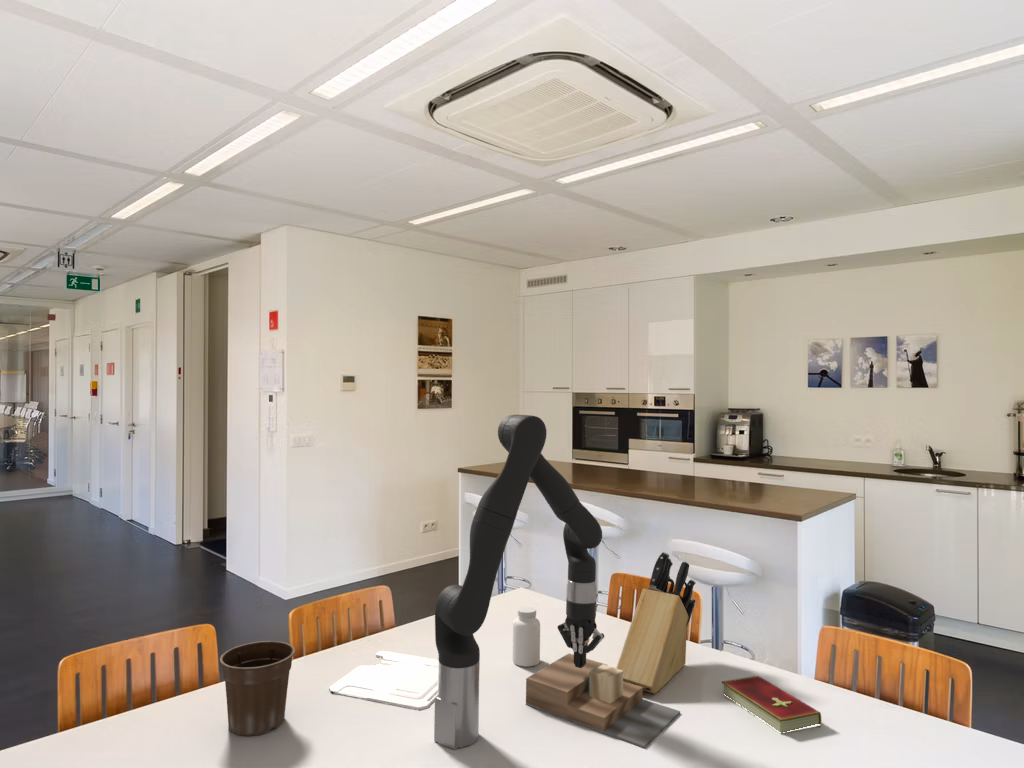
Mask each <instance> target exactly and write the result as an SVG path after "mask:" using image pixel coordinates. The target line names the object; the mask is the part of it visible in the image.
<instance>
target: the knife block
mask: <svg viewBox="0 0 1024 768" xmlns="http://www.w3.org/2000/svg"><path fill="white" fill-rule="evenodd" d="M672 566H673V562H672V560H671V558H670V554H669V553H667V552H665V551H662V552H661V553H660V555H659V556H658V558H656V561H655V563H654V566H653V570H652V573H651V577H650V580H649V583H648V584H649V585H648V586H647V588H642V590H641V593H640V596H639V598H638V602H637V605H636V607H635V611H634V614H633V616H632V619H631V623H630V625H629V627H628V628H629V629H628V632H627V634H626V638H625V640H624V643H623V646H622V649H621V653H620V656H619V658H618V659H619V660H618V662H617V665H616V667H615V668H616V669H619V670H622V671H623V681H624V682H627V683H631V684H634V685H637V686H640V687H643V692H647V693H651V694H656V693H657V692H659V691H660V690H661V689H662V688H663V687H664V686H665V685H666V684H667V683H669V681H670V680H671V679H672V677H673V676H675V674H677V673H678V672H679V671H680V670H681V669H682V668H683V667H684V666H685V665H686V659H687V658H686V657H687V654H686V653H687V633H688V632H687V631H688V630H687V628H688V626H689V623H690V620H691V618H692V615H693V611H694V608H695V605H696V599H694V598H692V595H693V591H694V586H695V585H696V581H694V580H693V579H690V580H689V581H688V582H686V581H687V577H688V574H689V569H690V564H689V563H688V562H686V561H682V562H681V564H680V565H679V569H678V571H677V574H676V578H675V581H674V579H673V578H671V576H670V571H671V568H672ZM669 583H670V585H669ZM668 587H669V588H668ZM683 588H684V589H683ZM682 589H683V594H682V595H681V592H682Z"/></svg>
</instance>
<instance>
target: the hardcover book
mask: <svg viewBox="0 0 1024 768" xmlns="http://www.w3.org/2000/svg"><path fill="white" fill-rule="evenodd" d="M721 684H722V685H723V695H724V694H725V695H726V696H728V697H729V698H731V699H732V700H734V701H735V702H737V703H738V704H740V705H741V706H743V707H744V708H746V709H747V710H749V711H750V712H752V713H753V714H755V715H756V716H758V717H759V718H761V719H762V720H764V721H765V722H766V723H768V724H769V725H771V726H772V727H774V728H775V729H776V730H778V731H779V732H781V733H783V732H787V731H790V730H795V729H799V728H803V727H807V726H811V725H815V724H821V725H822V713H821V711H819V710H817V709H815V708H813V707H812V706H811V705H808V704H807V703H806V702H804V701H802V700H800V699H799V698H797V697H795V696H794V695H791V694H790V693H788V692H787V691H785V690H783V689H781V688H780V687H778V686H776V685H775V684H773V683H771V682H769V681H768V680H766V679H765V678H763V677H761V676H759V675H752V676H748V677H747V676H745V677H741V678H734V679H728V680H723V681H721Z"/></svg>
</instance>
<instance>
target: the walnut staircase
mask: <svg viewBox="0 0 1024 768" xmlns="http://www.w3.org/2000/svg"><path fill="white" fill-rule="evenodd" d="M602 664H604V665H607V666H609V665H608V664H606V663H603V662H599V661H597V660H592V659H590V658H586V664H585V665H584V667H582V668H578V667H575V664H574V653H573V654H572V653H567V654H565V655H563V656H562V657H560V658H559V659H557V660H555V661H554V662H551V663H550V664H548V665H546V666H545V667H544V668H541V669H539V670H538V671H536V672H534V673H533V674H531V675H529V676H528V677H526V679H525V680H526V681H525V705H526V706H529V707H531V708H535V709H536V710H539V711H542V712H545V713H547V714H550V715H553V716H556V717H558V718H561V719H564V720H566V721H569V722H571V723H575V724H576V725H580V726H583V727H585V728H589V729H591V730H593V731H597V732H599V733H602V734H604V735H608V736H610V737H613V738H616V739H618V740H621V741H624V742H626V743H629V744H631V745H634V746H637V747H639V748H643V749H645V748H647V746H648V745H649V744H651V742H653V741H654V740H655V739H656V738H657V736H658V735H660V733H662V732H663V730H665V729H666V727H668V726H669V725H670V724H671V723H672V722H673V721H674V720H675V719H676V718H677V717H678V716H679V715H680V714H681V711H680V710H677V709H674V708H671V707H669V706H666V705H662V704H659V703H656V702H652V701H649V700H646V699H643V697H644V696H643V692H644V691H643V687H640V686H637V685H634V684H631V683H627V682H624V681H623V696H621V697H620V698H618V699H617V700H615V701H614V702H612V703H611V704H609V703H606V702H603V701H601V700H598V699H596V698H593V697H590V696H589V671H591V670H593V669H594V668H596V667H598V666H600V665H602Z"/></svg>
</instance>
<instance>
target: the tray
mask: <svg viewBox="0 0 1024 768" xmlns="http://www.w3.org/2000/svg"><path fill="white" fill-rule="evenodd" d="M375 657H376V658H379V657H381V658H380V659H382V660H381V661H380V663H381V662H382V663H386V664H391V665H383V664H380V663H378V664H373V665H365V664H361V665H360V664H359V665H357V666H356V667H355V668H353V670H351V671H350V672H348V673H347V674H345V675H344V676H343V677H341V678H340V679H338V680H337V681H335V682H334V683H333V684H331V685H330V686H329V688H328V690H329V691H330V692H333V694H334V693H335V694H334V695H338V694H340V696H343V695H346V697H349V696H351V697H350V698H354V697H356V698H355V699H359V698H361V699H360V700H364V699H366V701H369V700H370V701H371V702H375V701H376V702H375V703H380V702H382V703H381V704H385V703H387V704H386V705H390V704H392V705H391V706H396V705H397V706H396V707H401V708H402V707H403V708H406V709H411V708H412V710H416V709H417V711H419V709H420V710H424V708H425V709H427V708H428V707H429V706H430V705H432V703H434V702H435V698H436V697H438V671H439V658H438V659H436V658H432V657H431V658H429V657H424V656H419V655H412V654H407V653H400V652H394V651H388V650H387V651H386V650H380V651H377V652H376V653H375Z"/></svg>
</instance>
